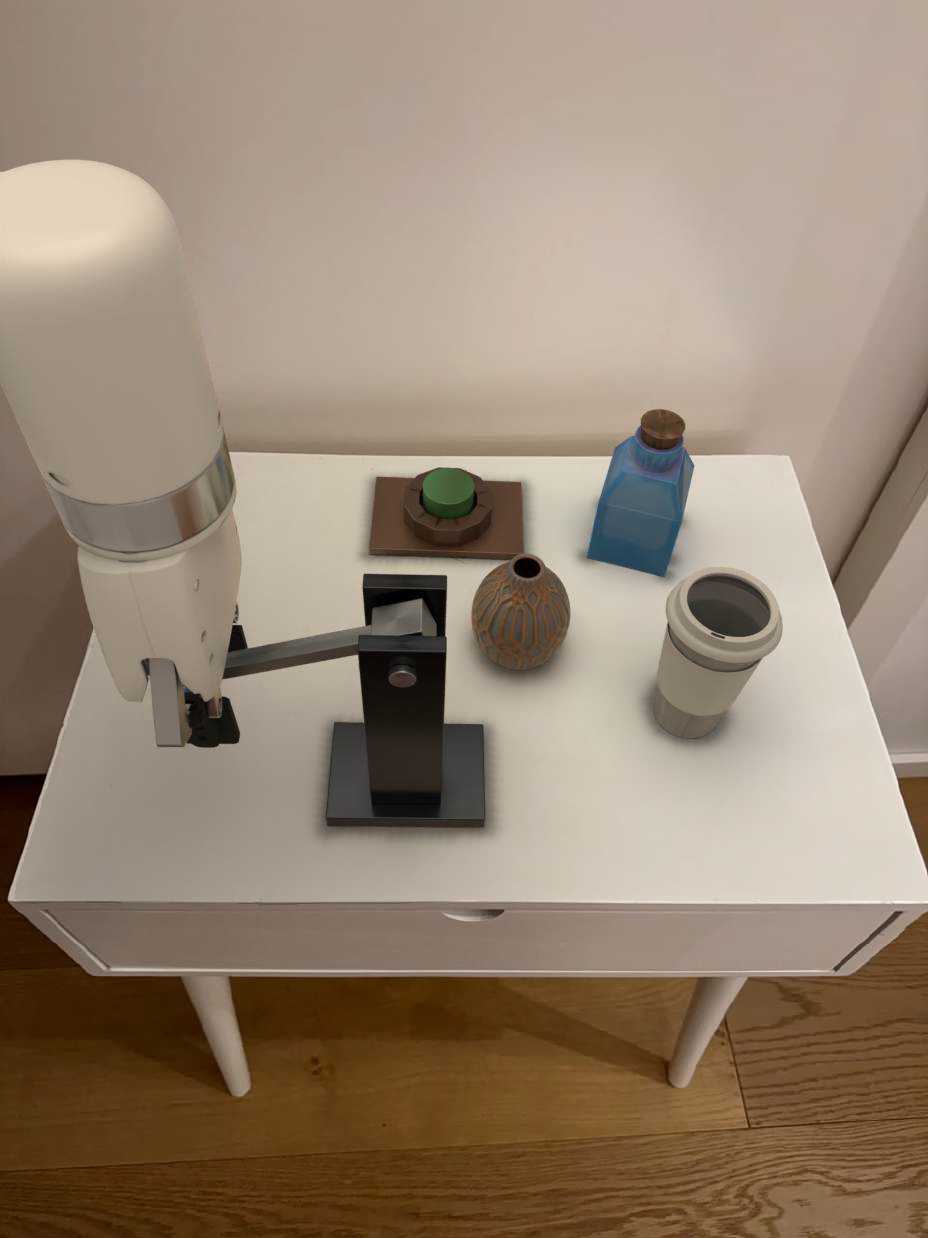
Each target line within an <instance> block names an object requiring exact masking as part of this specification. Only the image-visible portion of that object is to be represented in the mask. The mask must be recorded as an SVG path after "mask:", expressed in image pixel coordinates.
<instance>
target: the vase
mask: <svg viewBox="0 0 928 1238" xmlns="http://www.w3.org/2000/svg"><path fill="white" fill-rule="evenodd" d="M470 612H471V613H470V617H471V618H470V620H471V628H472V629H471V630H472V633H473V635H474V638H475V641H476V644H477V645H478V647H479V649H481V651H482V652H483V653H484V655H485V656H486V657H487V658H489V659H490V660H491V661H493V662H494V663H496V664H497V665H500V666H502V667H505V668H508V669H514V670H526V669H532V668H536V667H538V666H541V665H542V664H544V663H546V662H548V660H550V659H551V658H553V656H555V654H556V653H557V652H558V651H559V649H560V648H561V646H562V645H563V643H564V642H565V640H566V637H567V636H568V632H569V628H570V623H571V615H572V614H571V613H572V612H571V603H570V599H569V594H568V592H567V589H566V587H565V585H564V583H563V582H562V580H561V579H560V577H559V576H558V575H557V574H556V572H554V571H553V570H552V569H550V568H549V567H548V566H546V564H545V563H544V561H543V560H542V559H541V558H540V557H538V555H535V554H532V553H524V554H520V555H517V556H515V557H514V558H513V559H510V560H509V561H507V562H504V563H502V564H500V565H498V566H496V567H495V568H493V569H492V570H491V571H489V573H488V574H486V576H485V577H484V578H483V579H482V580H481V583H480V584H479V586H478V587H477V588H476V591H475V594H474V597H473V600H472V603H471V611H470Z"/></svg>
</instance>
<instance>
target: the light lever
mask: <svg viewBox="0 0 928 1238" xmlns="http://www.w3.org/2000/svg"><path fill="white" fill-rule="evenodd" d="M436 626H437V625H436V623H435V621H434V619H433V617H432V615H431V613H430V611H429V610H428V608H427V606H426V604H425V602H424V600H423V599H422V598H421V599H416V600H411V601H405V602H400V603H395V604H390V605H385V606H380V607H375V608H373V610H372V625H368V626H365V625H363V626H358V627H353V628H348V629H347V628H346V629H342V630H337V631H332V632H327V633H322V634H321V633H320V634H316V635H311V636H305V637H300V638H296V639H295V638H294V639H290V640H289V639H288V640H284V641H279V642H274V643H270V644H263V645H257V646H253V647H248V648H247V649H242V650H237V651H232V652H227V658H226V663H225V668H224V673H223V678H222V681H223V680H228V679H234V678H240V677H245V676H251V675H257V674H260V673H266V672H272V671H278V670H283V669H288V668H289V669H290V668H294V667H297V666H304V665H305V666H306V665H310V664H316V663H320V662H327V661H333V660H338V659H342V658H348V657H353V656H358V638H359V635H395V636H436ZM184 692H192V691H190V690H189V689H188V688H187V687H184Z"/></svg>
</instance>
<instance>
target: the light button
mask: <svg viewBox="0 0 928 1238" xmlns="http://www.w3.org/2000/svg"><path fill="white" fill-rule="evenodd" d="M454 468H455V467H443V468H442V469H438V470H435V471H433V472H431V473H430V474H429V475H428V476H427V477H426V478H425V480H424V482H423V505H424V507H425V509H426V510H427V512H429V513H430V514H431V515H433V516H434V517H437V518H440V519H458V518H461V517H463V516H465V515H466V514H467V513H469V512H470V510H471V509H472V507H473V502H474V482H473V480H472V478H471V477H470V476H469V475H468V474H467V473H465V472H463V471H461V470H458V469H454Z"/></svg>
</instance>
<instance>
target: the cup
mask: <svg viewBox="0 0 928 1238" xmlns="http://www.w3.org/2000/svg"><path fill="white" fill-rule="evenodd" d="M777 600H778V599H777V598H776V596H775V595H774V593H773V592H772V590H771V589H770V588H769V587H768V586H767V585H766V584H765V583H764V582H763V581H761V580H760V579H759V578H757V577H756V576H754V575H752V574H750V573H748V572H745V571H743V570H741V569H738V568H734V567H727V566H711V567H706V568H705V567H704V568H702V569H699V570H697V571H695V572H693V573H692V574H690V575H689V576H687V577H685V578H684V579H682V580H680V581H679V582H677V584H676V585H675V586H674V587H673V588H672V589H671V591H670V592H669V594H668V596H667V598H666V601H665V616H666V621H667V623H666V627H665V631H664V637H663V642H662V647H661V651H660V656H659V661H658V665H657V670H656V684H655V685H656V686H655V691H654V695H653V700H652V712H653V715H654V717H655V720H656V721H657V723H658V724H659V725H660V727H662V728H663V729H664V730H665V731H667V732H668V733H669V734H672V735H674V736H676V737H680V738H682V739H698V738H702V737H703V738H704V737H705V736H707V735H709V734H710V733H712V732H713V731H714V729H715V728H716V727H717V725H718V724H719V722H720V721H721V719H722V718H723V716H724V715H725V713H726V711H727V710H729V708H731V707H732V705H734V703H735V701H736V700H737V698H738V697H739V696H740V694H741V692H742V691H743V689H744V688H745V686H746V685H747V683H748V682H749V681H750V679H751V678H752V676H753V674H754V672H755V671H756V669H757V668H758V666H759V665H760V663H761V662H762V660H763V659H764V658H765V657H767V656H768V655H769V654H771V653H772V652H774V651H775V649H776V648H777V647H778V646H779V644H780V642H781V639H782V636H783V631H784V624H783V616H782V613H781V611H780V607H779V603H778V601H777Z"/></svg>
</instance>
